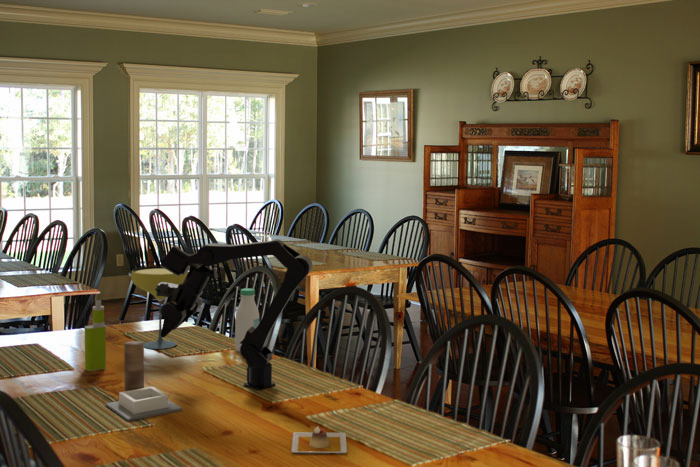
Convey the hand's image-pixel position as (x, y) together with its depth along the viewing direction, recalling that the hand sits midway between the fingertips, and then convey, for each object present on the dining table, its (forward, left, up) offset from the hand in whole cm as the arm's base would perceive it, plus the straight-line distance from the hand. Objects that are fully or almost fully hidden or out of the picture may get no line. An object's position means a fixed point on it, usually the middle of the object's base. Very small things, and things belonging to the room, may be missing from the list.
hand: (167, 332), depth 222 cm
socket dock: (-14, +19, -14) cm, 27 cm away
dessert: (-63, +9, -14) cm, 65 cm away
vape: (+25, +6, -14) cm, 29 cm away
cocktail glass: (+33, -24, -14) cm, 43 cm away
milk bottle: (+8, -39, -14) cm, 42 cm away
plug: (-1, +12, -14) cm, 18 cm away
